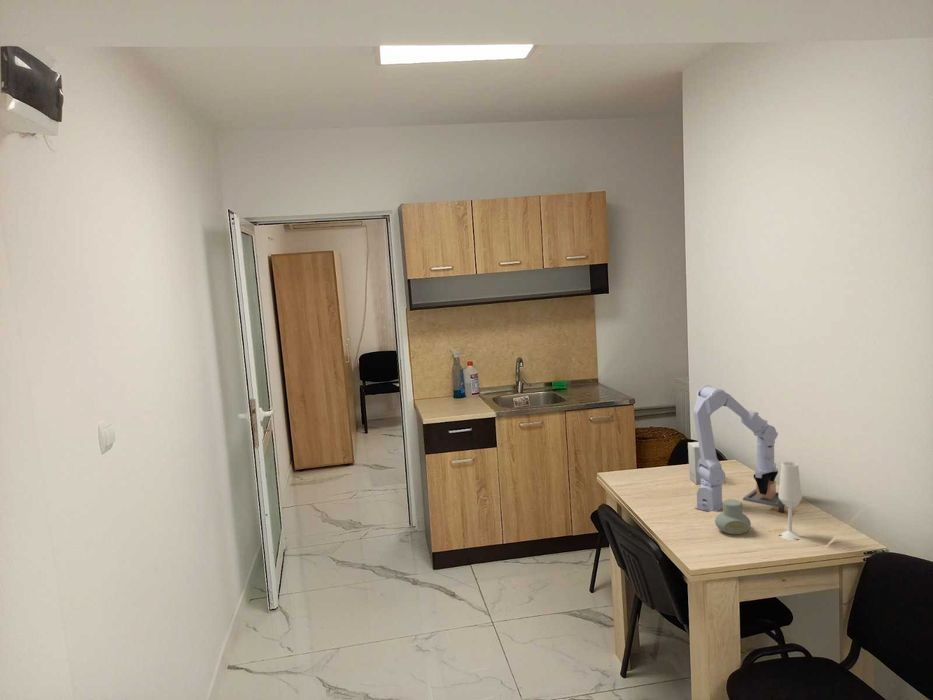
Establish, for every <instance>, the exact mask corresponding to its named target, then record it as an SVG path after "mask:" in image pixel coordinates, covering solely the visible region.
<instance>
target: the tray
mask: <svg viewBox="0 0 933 700" xmlns="http://www.w3.org/2000/svg"><path fill="white" fill-rule="evenodd" d="M778 495H779V492H777V491H776V495H775V496H774V497H772V498H771V499H769V498H764V497H759V496H757V490H756V488H755V489H754V490H752V491H750V492H749V493H748V494H746V495H745V496H744V497H742V500H743V501H745V502H752V503H756V504H761V505H766V506H770V507H774V506H776V507H779V501H780V499H779V497H778Z"/></svg>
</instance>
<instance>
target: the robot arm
mask: <svg viewBox="0 0 933 700" xmlns="http://www.w3.org/2000/svg"><path fill="white" fill-rule="evenodd" d="M722 407H727V408H728V409H729V410H731V411H732V412H733V413H734V414H736V416H739V417H740V421H741V423H742V424H743V425H744V426H746V428H748V429H749V430H751V432H752V433H753V435H754V436H755V437H756V464H757V466H756V471H755V472H754V474H753V479H754V480H755V482H756V486H757V485H758V488H759V492H760V494H765V495H766V493H767V488H768V483H769V481H774V482H775V481H776V480H775V479H776V478H777V475H778V474H779V469H778V468H777V463H776V462H775V441H776V439H777V437H778V435H779V432H777V429H776V427H775V426H773V425H771V424H769V423H768V420H767V419H763V418H762V417H761V416H760V415H759V414H760V413H758V411H755V410H754V411H753V410H747V409H746V408H745V407H744V406H743V405H742V404H741V403H739V401H737V400H736V399H735V398H734V397H733V396H732V395H731V394H729V393H727V392H726V391H725V390H723V389H720V388H716V387H713V386H712V385H707V384H706V385H703V386H702V387H701V388H700V389H699V390H698V391H697V392H696V401H695V405H694V408H693V417H694V424H695V431H696V436H697V442H698V443H699V449H700V455H701V458H700V459H699V460H698V468H697V473H698V475H699V476H700V477H701V484H700V486H699V488H698V489H697V490H696V505H695V506H694V509H697V510H701V511H706V512H715V513H716V512H718V511H719V510H721V509H723V483H724V482H725V479H726V473H725V471H724V470H723V467H722V464H721V462H720V461H719V459H718V456H717V451H716V446H715V445H716V444H715V440H714V433H713V426H712V421H711V415H712V414H713V413H714V412H716V411H717V410H719V409H720V408H722Z"/></svg>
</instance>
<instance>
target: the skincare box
mask: <svg viewBox="0 0 933 700" xmlns="http://www.w3.org/2000/svg"><path fill="white" fill-rule="evenodd" d="M687 450H688V453H687V455H688V469H689V474H688V475H689V480H691V482H692V483H693V484H695V485H701V477H700V476H699V475H698V473H697V468H698V460H699V459H700V458H701V455H700V449H699V443H698V441H693V442H687Z"/></svg>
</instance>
